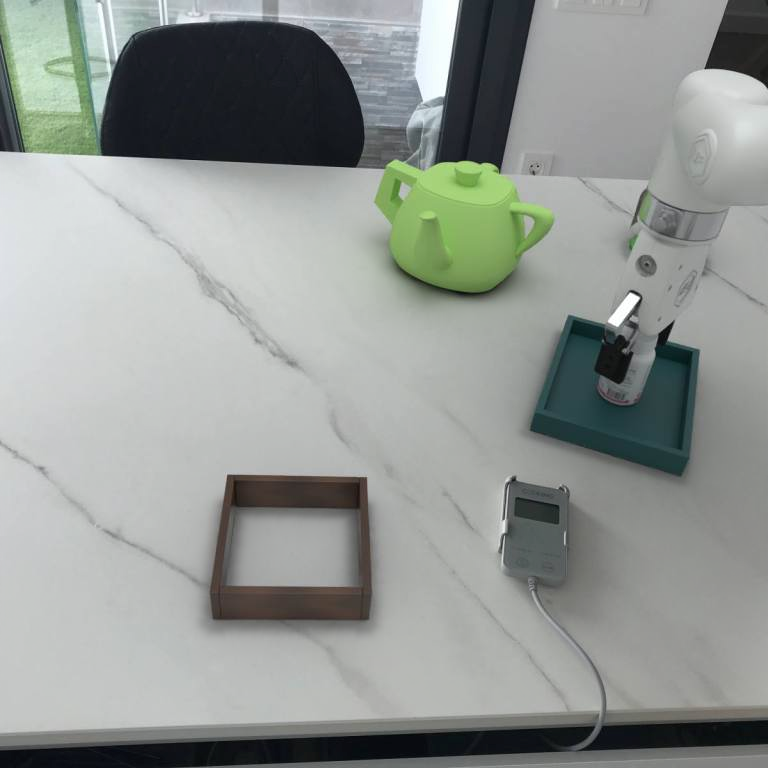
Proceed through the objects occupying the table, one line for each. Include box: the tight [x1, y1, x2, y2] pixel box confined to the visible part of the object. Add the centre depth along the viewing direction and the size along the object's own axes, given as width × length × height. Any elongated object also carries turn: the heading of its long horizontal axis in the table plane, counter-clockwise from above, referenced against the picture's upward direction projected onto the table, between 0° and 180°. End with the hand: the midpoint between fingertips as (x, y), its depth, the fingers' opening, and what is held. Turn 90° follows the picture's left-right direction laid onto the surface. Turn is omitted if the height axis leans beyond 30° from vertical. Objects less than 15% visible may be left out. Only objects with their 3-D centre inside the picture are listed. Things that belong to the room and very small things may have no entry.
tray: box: [529, 314, 701, 477], centre depth 86 cm, size 20×16×3 cm
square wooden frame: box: [209, 473, 373, 621], centre depth 65 cm, size 12×12×4 cm
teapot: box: [373, 158, 555, 293], centre depth 101 cm, size 19×20×14 cm
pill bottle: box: [598, 320, 658, 405], centre depth 83 cm, size 5×5×8 cm
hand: (630, 357), depth 83 cm, fingers open, 9 cm apart
